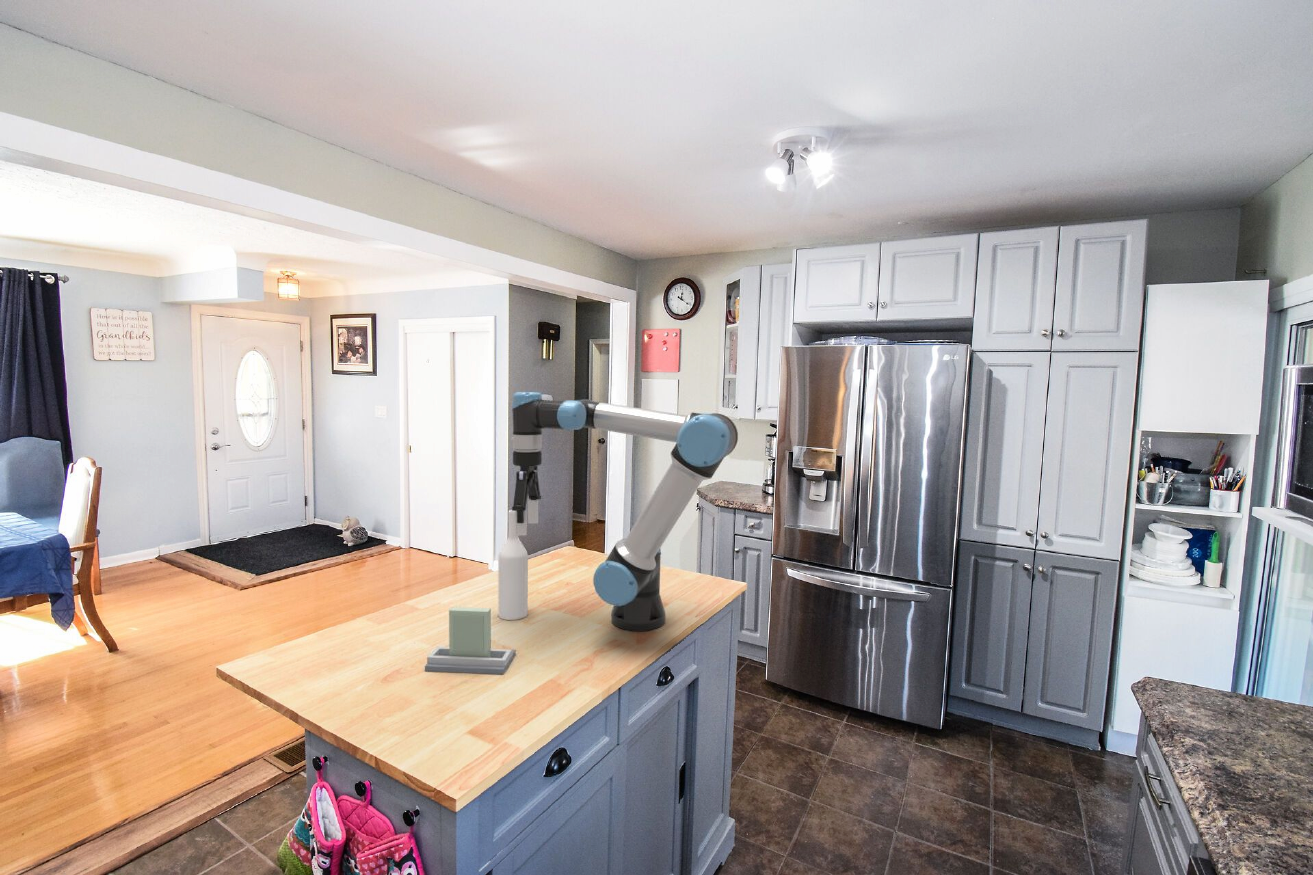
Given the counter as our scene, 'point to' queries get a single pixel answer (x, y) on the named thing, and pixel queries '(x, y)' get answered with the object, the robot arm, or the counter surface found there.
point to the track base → (469, 662)
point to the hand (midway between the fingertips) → (527, 528)
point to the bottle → (512, 576)
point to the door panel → (470, 632)
